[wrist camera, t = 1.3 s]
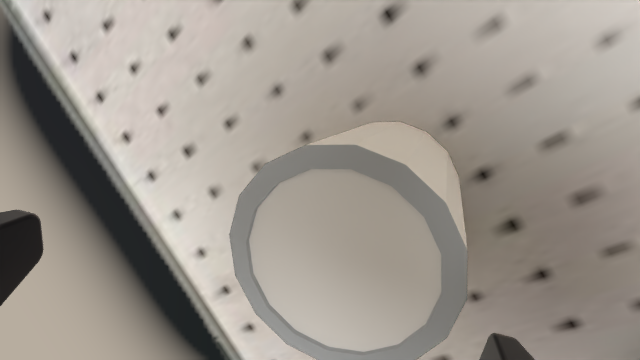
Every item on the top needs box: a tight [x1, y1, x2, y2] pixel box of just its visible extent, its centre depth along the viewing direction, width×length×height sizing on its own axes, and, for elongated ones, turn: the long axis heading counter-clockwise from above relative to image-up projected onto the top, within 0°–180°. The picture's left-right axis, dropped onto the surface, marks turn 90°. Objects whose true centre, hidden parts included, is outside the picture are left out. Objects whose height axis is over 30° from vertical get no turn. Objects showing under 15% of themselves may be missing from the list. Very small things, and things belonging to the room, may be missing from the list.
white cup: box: [229, 122, 468, 360], centre depth 16 cm, size 7×7×7 cm
